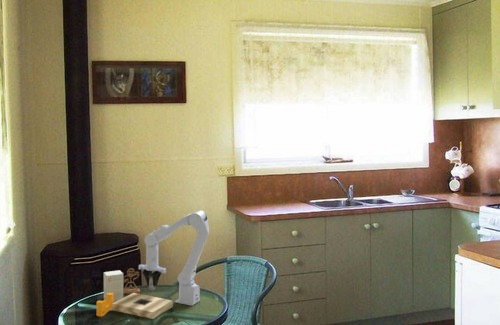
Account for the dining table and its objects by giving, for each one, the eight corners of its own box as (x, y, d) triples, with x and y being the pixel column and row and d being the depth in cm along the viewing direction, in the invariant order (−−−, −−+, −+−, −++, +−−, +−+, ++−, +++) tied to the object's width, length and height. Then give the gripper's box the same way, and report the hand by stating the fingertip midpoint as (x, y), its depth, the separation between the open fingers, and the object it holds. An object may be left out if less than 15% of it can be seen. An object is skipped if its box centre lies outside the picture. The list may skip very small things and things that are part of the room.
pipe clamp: (104, 306, 235) (104, 292, 235) (113, 307, 235) (113, 293, 234) (92, 316, 224) (92, 301, 223) (102, 317, 223) (102, 302, 222)
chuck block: (172, 306, 236) (172, 300, 236) (152, 318, 222) (152, 312, 222) (133, 298, 245) (133, 292, 245) (111, 309, 231) (111, 303, 230)
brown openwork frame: (121, 294, 251) (121, 270, 250) (121, 291, 255) (121, 267, 254) (139, 293, 254) (140, 269, 253) (139, 290, 257) (139, 267, 256)
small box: (120, 296, 249) (120, 269, 247) (123, 300, 243) (123, 273, 242) (103, 298, 245) (103, 271, 244) (106, 302, 239) (106, 275, 238)
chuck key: (158, 287, 248) (158, 273, 248) (151, 291, 243) (151, 276, 243) (152, 286, 250) (152, 272, 249) (146, 290, 245) (146, 275, 244)
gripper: (134, 257, 244) (134, 285, 246) (160, 262, 239) (160, 290, 240) (143, 254, 251) (143, 281, 252) (168, 258, 245) (168, 285, 246)
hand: (152, 285), depth 246 cm, fingers closed on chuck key, 3 cm apart
